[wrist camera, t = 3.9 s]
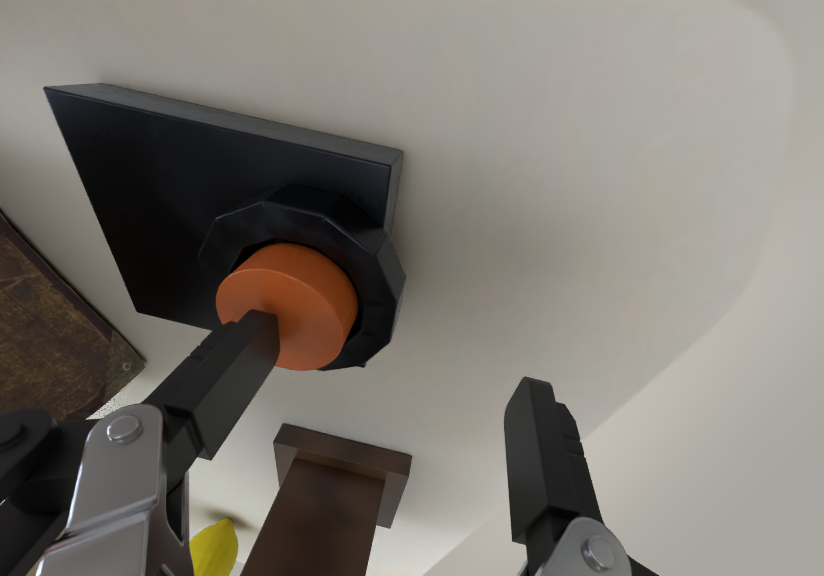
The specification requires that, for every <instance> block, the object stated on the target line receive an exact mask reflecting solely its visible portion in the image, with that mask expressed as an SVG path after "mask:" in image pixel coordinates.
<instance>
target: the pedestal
mask: <svg viewBox="0 0 824 576" xmlns="http://www.w3.org/2000/svg"><path fill="white" fill-rule="evenodd" d="M273 445H274V452H275V459H276V466H277V473H278V480H279V487H280V489H279V491H278V493H277V496H276V498H275V500H274V502H273V504H272V507H271V509H270V511H269V513H268V515H267V518H266V520H265V522H264V524H263V526H262V528H261V531H260V533H259V535H258V537H257V539H256V542H255V544H254V546H253V548H252V550H251V552H250V555H249V557H248V559H247V561H246V563H245V566H244V568H243V570H242V572H241V574H240V576H365V575H366V570H367V565H368V561H369V556H370V551H371V547H372V542H373V537H374V533H375V528H376V525H378V526H382V527H386V528H389V529H390V528H391V525H392V522H393V519H394V517H395V514H396V511H397V508H398V505H399V503H400V500H401V497H402V494H403V491H404V489H405V486H406V483H407V480H408V477H409V473H410V466H411V460H412V456H410V455H406V454H402V453H398V452H394V451H390V450H386V449H382V448H378V447H374V446H370V445H366V444H362V443H358V442H354V441H350V440H346V439H342V438H338V437H334V436H330V435H326V434H322V433H318V432H315V431H311V430H307V429H303V428H299V427H295V426H291V425H287V424H282V426H281V428H280V430H279V432H278V433H277V435H276V437H275V439H274V441H273Z"/></svg>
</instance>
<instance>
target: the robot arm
mask: <svg viewBox="0 0 824 576" xmlns="http://www.w3.org/2000/svg"><path fill="white" fill-rule="evenodd" d="M279 353H280V338H279V327H278V318H277V316H276V315H275V314H272V313H267V312H263V311H259V310H255V309H251V310H249V311H248V312H247V313H246V314H245V315H244V316H243V317H242V318H241V319H240V320H239V321H238V322H234V321H229V322H227V323H225V324H224V325H222V326H220V327H218V328H216V329H215V330H213V331H212V332H211V333H210V334H209V335H208V336H207V337H206V338H205V339H204V340H203V341H202V342H201V345H200V346H199V345H198V346H197V347H196V348H195V349H194V350H193V351H192V352H191V353H190V356H188V357H187V358H186V359H185V360H184V361H183V362H182V363H181V364H180V365H179V366H178V367H177V368H176V369H175V370H174V371H173V372H172V373H171V374H170V375H169V376H168V377H167V378H166V379H165V380H164V381H163V382H162V383H161V384H160V385H159V386H158V387H157V388H156V389H155V390H154V391H153V392H152V393H151V394H150V395H149V396H148V397H147V398H146V399H145V400H144V401H142V402H141V403H140V404H132V405H128V406H125V407H122V408H119V409H117V410H115V411H113V412H111V413H109V414H108V415H106V416H105V417H104V418H102V419H90V420H73V421H55V420H54V419H53V418H52V417H51V415H50V414H49V413H48V412H47V411H45V410H43V409H40V408H23V409H17V410H13V411H10V412H7V413H4V414H1V415H0V503H1V502H2V501H3V500H4V499H5V501H4V502H3V503H2V504H1V505H0V576H26V575H27V573H28V572H29V571H30V570H31V569H32V567H33V566H34V565H35V564H36V562H37V561H38V560H39V559H40V558H41V556H42V558H41V560H40V563H39V566H38V570H37V574H36V576H194V567H193V561H192V557H191V552H190V543H189V471H188V469H189V468H190V466H191V465H192V464H193V462H194V461H195V459H196V458H197V457H199V458H203V459H207V460H210V461H211V460H212V459H213V457H214V456H215V454H216V453H217V451H218V450H219V448H220V447H221V445H222V444H223V442H224V441H225V439H226V438H227V436H228V435H229V433H230V432H231V430H232V429H233V427H234V426H235V424H236V423H237V421H238V420H239V418H240V417H241V415H242V414H243V412H244V411H245V409H246V408H247V406H248V405H249V403H250V402H251V400H252V399H253V397H254V396H255V394H256V393H257V391H258V390H259V388H260V387H261V385H262V384H263V382H264V381H265V379H266V378H267V376H268V375H269V373H270V372H271V370H272V369H273V367H274V366H275V364H276V362H277V360H278V357H279ZM504 433H505V447H506V461H507V475H508V489H509V503H510V517H511V530H512V541H513V542H516V543H520V544H524V545H526V548H527V560H526V561H525V563H524V564H523V566H522V568H521V569H520V571H519V572H518V574H517V576H659V575H657V574H655V573H654V572H652V571H651V570H649V569H648V568H646V567H644V566H643V565H641V564H640V563H638V562H636V561H635V560H634V559H632V558H631V557H629V555H627V554H626V552H625V550H624V548H623V546H622V545H621V543H620V541H619V540H618V539H617V537H616V536H615V535H614V534H613V533H612V532H611V531H610V530H609V529H608V528H607V527H606V526H605V524H604V522H603V520H602V517H601V514H600V510H599V506H598V503H597V499H596V495H595V491H594V488H593V484H592V480H591V477H590V473H589V469H588V465H587V462H586V458H585V457H584V451H583V447H582V443H581V442H580V436H579V432H578V428H577V425H576V421H575V419H574V418H573V416H572V415H571V413H570V412H569V410H568V409H567V407H566V406H565V404H562V403H558V402H556V401H555V397H554V392H553V388H552V385H551V384H550V383H549V382H546V381H542V380H538V379H534V378H530V377H526V376H525V377H523V378H522V380H521V381H520V383H519V385H518V387H517V388H516V390H515V392H514V394H513V395H512V397H511V399H510V401H509V402H508V404H507V407H506V410H505V415H504ZM65 527H66V529H65V531H64V533H63V535H62V536H61V537H60V538H59V539H57V540H55V539H56V538H57V537H58V536H59V535H60V533H61V532H62V531H63V530H64V528H65Z"/></svg>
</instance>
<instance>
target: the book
mask: <svg viewBox="0 0 824 576" xmlns="http://www.w3.org/2000/svg"><path fill="white" fill-rule="evenodd" d="M144 368H145V364H144V363H143V361H142V360H141V359H140V358H139V356H138V355H137V354H136V353H135V352H134V351H133V349H132V348H131V347H130V345H129V344H128V343H127V342H126V341H125V340H124V339H123V338H122V337H121V336H120V335H119V334H118V333H117V332H116V331H115V330H113V329H112V328H111V327H110V326H109V325H107V324H106V323H105V322H104V320H102V319H101V318H100V317H99V316H98V315H97V314H96V313H95V312H94V311H93V310H92V309H91V308H90V307H89V306H88V305H87V304H86V303H85V302H84V301H83V300H82V299H81V298H80V297H79V296H78V295H77V294H76V293H75V291H74V290H73V289H71V288H70V287H69V286H68V285H67V284H66V283H65V282H64V281H63V280H62V279H61V278H60V277H59V276H58V275H57V274H56V273H55V272H54V271H53V270H52V269H51V268H50V267H49V266H48V264H47V263H46V262H45V261H44V260H43V259H42V258H41V257H40V256H39V255H38V254H37V253H36V252H35V251H34V250H33V249H32V248H31V247H30V246H29V245H28V244H27V243H26V242H25V241H24V240H23V239H22V238H21V237H20V235H19V234H18V233H17V232H16V231H15V230H14V229H13V228H12V227H11V226H10V225H9V223H8V222H7V221H6V219H5V218H4V216H3V215H2V214H1V212H0V415H1V414H4V413H7V412H10V411H13V410H17V409H23V408H40V409H43V410H45V411H47V412H48V413H49V414H50V415H51V417H52V418H53V419H54V420H55V421H73V420H85V419H86V418H88V417H89V416H91V415H92V414H94V413H95V412H96V411H97V410H98V409H100V408H101V407H102V406H103V405H105V404H106V403H107V402H108V401H109V400H110V399H111V398H112V397H114V396H115V395H116V394H117V393H118V392H119V391H120V390H121V389H122V388H124V387H125V386H126V385H127V384H128V383H129V382H130V381H131V380H132V379H134V378H135V377H136V376H137V375H138V374H139V373H140V372H141V371H142V370H143V369H144Z"/></svg>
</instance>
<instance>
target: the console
mask: <svg viewBox="0 0 824 576" xmlns="http://www.w3.org/2000/svg"><path fill="white" fill-rule="evenodd" d="M43 90H44V93H45V95H46V97H47V100H48V102H49V105H50V107H51V109H52V112H53V114H54V116H55V119H56V121H57V124H58V126H59V128H60V131H61V133H62V136H63V138H64V140H65V143H66V145H67V147H68V150H69V152H70V155H71V157H72V159H73V162H74V164H75V166H76V169H77V171H78V174H79V176H80V178H81V181H82V183H83V186H84V188H85V190H86V193H87V195H88V197H89V200H90V202H91V205H92V207H93V209H94V212H95V214H96V216H97V219H98V221H99V224H100V226H101V228H102V231H103V233H104V236H105V238H106V240H107V243H108V245H109V247H110V250H111V252H112V255H113V257H114V259H115V262H116V264H117V266H118V269H119V271H120V274H121V276H122V278H123V281H124V283H125V286H126V288H127V290H128V293H129V295H130V297H131V300H132V302H133V305H134V307H135V309H136V311H137V312H138V313H142V314H146V315H150V316H154V317H158V318H162V319H166V320H170V321H174V322H179V323H183V324H187V325H191V326H195V327H199V328H203V329H207V330H211V331H213V330H215V329H216V328H218V327H220V326H222V325H223V324H222V322H221V320H220V318H219V316H218V312H217V308H216V295H217V291H218V288H219V286H220V284H221V283H222V282H223V280H224V279H226V278H227V277H228V276H229V275H230V274H231V273H232V272H233V271H235V270H236V269H237V268H238V267H239V266H240V265H241V264H243V263H244V262H245V261H246V260H247V259H248V258H249V257H251V256H252V255H253V254H254V253H255V252H256V251H258V250H259V249H261V248H263V247H265V246H268V245H272V244H277V243H292V244H298V245H302V246H306V247H309V248H311V249H314V250H316V251H318V252H320V253H322V254H323V255H325V256H326V257H328V258H329V259H331V260H332V261H333V262H334V263H336V264H337V265H338V266H339V267H340V268H341V269H342V270H343V271H344V273H345V274H346V275H347V276H348V278H349V280H350V281H351V283H352V285H353V287H354V289H355V292H356V295H357V301H358V312H357V316H356V319H355V321H354V323H353V325H352V328H351V330H350V332H349V334H348V336H347V338H346V341H345V343H344V345H343V347H342V349H341V351H340V353H339V355H338V356H337V357H336V358H335V359H334V360H333V361H332V362H331V363H329V364H328V365H326V366H324V367H321V368H318V369H316V370H320V371H321V370H322V371H327V370H334V369H342V368H349V367H356V366H358V367H362V368H364V367H365V366H366V363H367V361H368V360H369V359H370V358H372V357H373V356H374V355H375V354H377V353H378V352H379V351H380V350H381V349H383V348H384V347H385V346H386V345H388V344H389V343H390V341H391V339H392V335H393V332H394V329H395V326H396V322H397V319H398V316H399V312H400V307H401V302H402V297H403V291H404V286H405V281H406V275H405V273H404V270H403V268H402V266H401V263H400V261H399V259H398V256H397V254H396V252H395V249H394V247H393V245H392V242H391V240H390V238H391V232H392V225H393V218H394V212H395V205H396V198H397V192H398V185H399V178H400V172H401V165H402V158H403V151H402V150H398V149H393V148H389V147H384V146H380V145H375V144H371V143H366V142H362V141H357V140H353V139H349V138H344V137H340V136H335V135H331V134H326V133H322V132H317V131H313V130H308V129H304V128H299V127H295V126H290V125H286V124H282V123H277V122H273V121H268V120H264V119H259V118H255V117H250V116H246V115H241V114H237V113H232V112H228V111H224V110H219V109H215V108H210V107H206V106H201V105H197V104H192V103H188V102H183V101H179V100H174V99H170V98H166V97H161V96H157V95H152V94H148V93H143V92H139V91H134V90H130V89H125V88H121V87H116V86H112V85H108V84H103V83H96V84H80V85H64V86H49V87H44V88H43Z"/></svg>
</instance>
